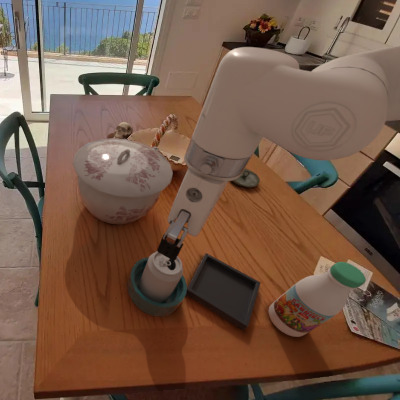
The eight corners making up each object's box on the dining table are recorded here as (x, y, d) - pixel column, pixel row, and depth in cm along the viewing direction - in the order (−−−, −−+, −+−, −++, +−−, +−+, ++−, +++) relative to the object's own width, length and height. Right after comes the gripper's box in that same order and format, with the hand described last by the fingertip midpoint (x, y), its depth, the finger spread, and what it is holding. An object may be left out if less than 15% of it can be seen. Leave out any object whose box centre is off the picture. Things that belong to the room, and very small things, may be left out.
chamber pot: (70, 240, 74) (74, 181, 60) (70, 178, 94) (72, 124, 80) (169, 241, 76) (195, 185, 62) (148, 180, 96) (164, 127, 82)
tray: (256, 286, 67) (260, 282, 65) (243, 330, 59) (247, 326, 57) (202, 257, 72) (205, 252, 71) (184, 293, 64) (187, 289, 63)
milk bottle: (268, 297, 65) (323, 247, 51) (304, 314, 62) (373, 266, 48) (266, 325, 60) (327, 277, 46) (305, 345, 57) (383, 300, 43)
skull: (127, 149, 109) (115, 126, 106) (110, 155, 117) (99, 134, 115) (142, 138, 115) (132, 116, 113) (125, 145, 124) (115, 124, 121)
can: (167, 309, 61) (185, 282, 52) (135, 298, 62) (147, 270, 54) (170, 281, 66) (186, 252, 58) (140, 272, 67) (152, 242, 59)
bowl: (187, 287, 65) (194, 276, 62) (166, 329, 58) (173, 319, 54) (142, 259, 71) (146, 248, 67) (117, 294, 63) (120, 283, 60)
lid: (250, 178, 103) (254, 165, 101) (263, 189, 94) (269, 176, 92) (222, 176, 104) (226, 164, 101) (233, 187, 95) (237, 174, 93)
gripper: (228, 201, 29) (179, 284, 40) (258, 140, 39) (212, 219, 51) (163, 173, 32) (135, 258, 43) (208, 123, 42) (175, 202, 54)
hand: (177, 237), depth 47 cm, fingers open, 9 cm apart
